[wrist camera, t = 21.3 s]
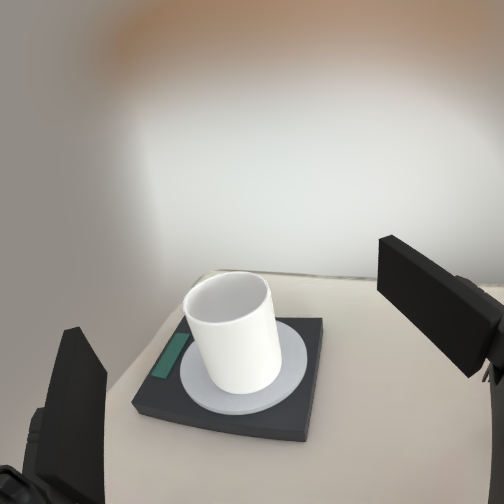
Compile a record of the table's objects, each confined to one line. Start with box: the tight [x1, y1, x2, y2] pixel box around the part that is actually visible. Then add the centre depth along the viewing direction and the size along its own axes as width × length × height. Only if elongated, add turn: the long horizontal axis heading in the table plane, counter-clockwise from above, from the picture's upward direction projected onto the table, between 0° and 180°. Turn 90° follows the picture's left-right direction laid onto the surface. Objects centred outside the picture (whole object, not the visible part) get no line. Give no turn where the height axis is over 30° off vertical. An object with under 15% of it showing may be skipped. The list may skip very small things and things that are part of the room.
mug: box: [183, 272, 282, 394], centre depth 33 cm, size 12×8×10 cm
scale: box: [131, 316, 323, 442], centre depth 37 cm, size 20×17×3 cm
